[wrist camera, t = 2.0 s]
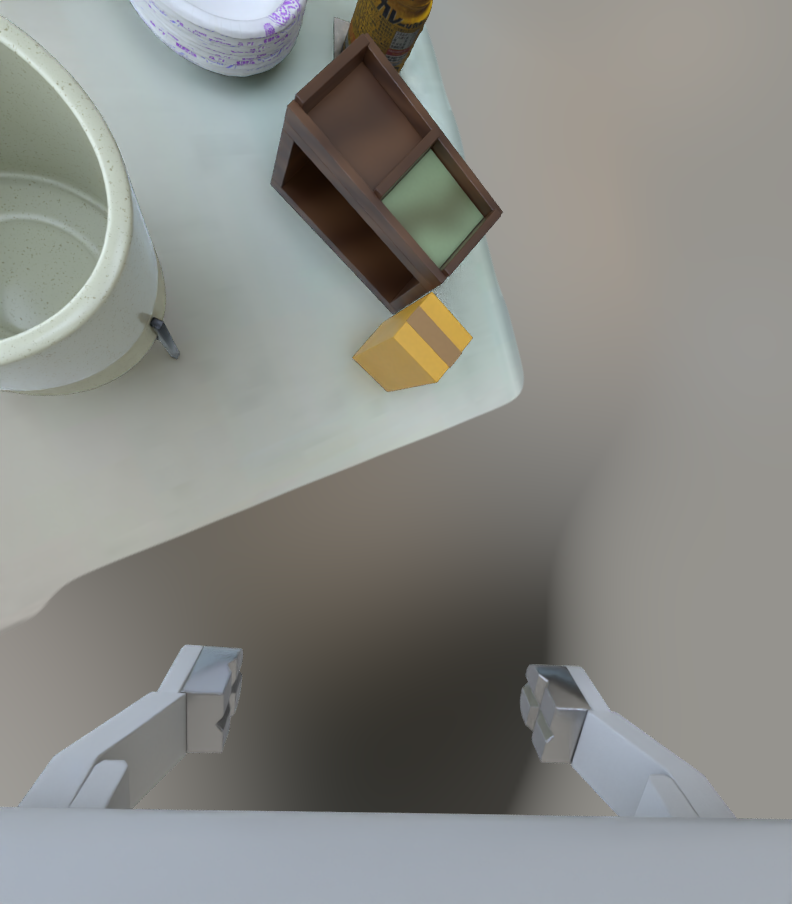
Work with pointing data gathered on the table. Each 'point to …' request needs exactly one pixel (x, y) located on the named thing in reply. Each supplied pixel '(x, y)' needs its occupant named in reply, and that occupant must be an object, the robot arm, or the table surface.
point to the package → (414, 346)
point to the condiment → (384, 27)
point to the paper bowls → (226, 31)
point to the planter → (67, 236)
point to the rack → (379, 177)
